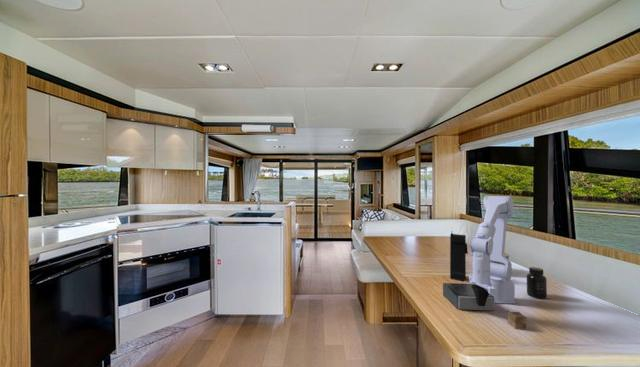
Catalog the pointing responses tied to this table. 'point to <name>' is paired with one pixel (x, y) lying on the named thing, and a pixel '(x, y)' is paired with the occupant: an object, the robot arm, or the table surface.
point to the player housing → (457, 292)
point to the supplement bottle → (536, 283)
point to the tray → (474, 303)
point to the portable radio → (458, 256)
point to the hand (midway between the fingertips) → (481, 305)
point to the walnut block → (517, 320)
